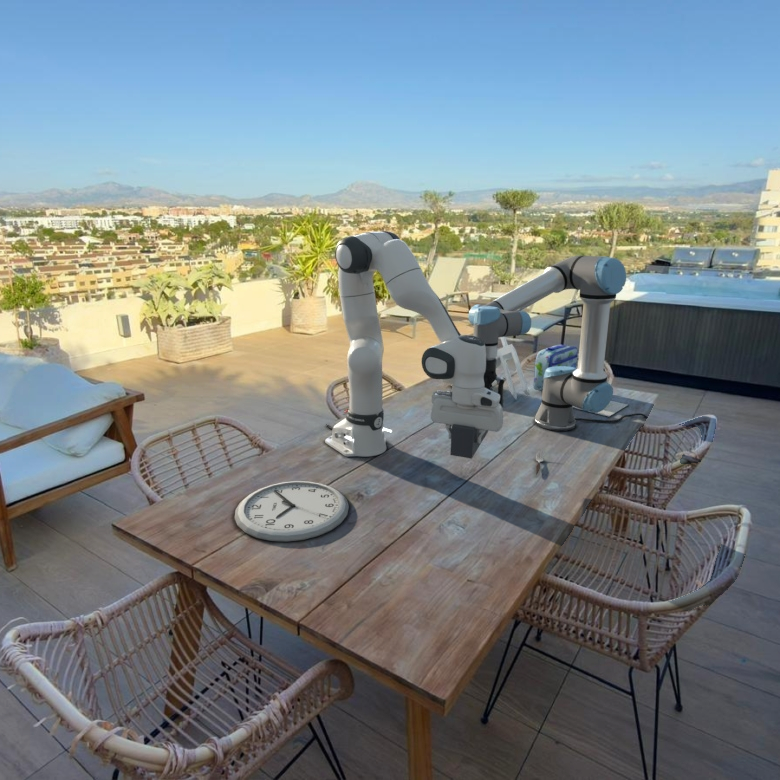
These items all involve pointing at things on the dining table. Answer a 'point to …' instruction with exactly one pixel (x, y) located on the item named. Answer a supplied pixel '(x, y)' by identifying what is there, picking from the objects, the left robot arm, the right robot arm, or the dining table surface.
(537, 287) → the right robot arm
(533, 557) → the dining table surface
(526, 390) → the white plastic object
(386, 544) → the dining table surface
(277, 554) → the dining table surface
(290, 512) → the wall clock
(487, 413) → the left robot arm
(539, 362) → the lunch box
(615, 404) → the invitation card
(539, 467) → the fork
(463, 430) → the box
